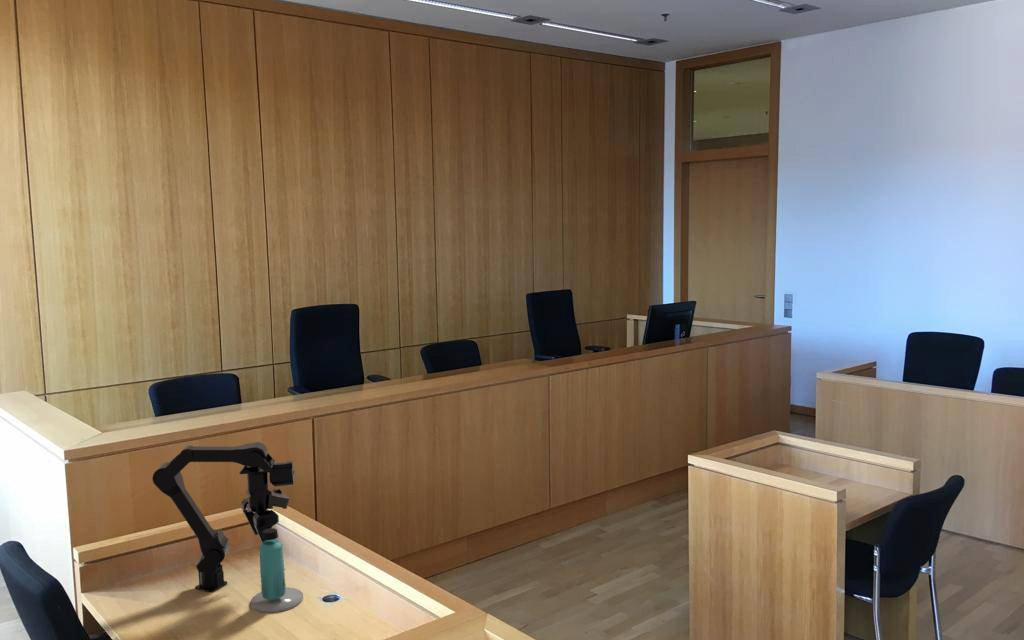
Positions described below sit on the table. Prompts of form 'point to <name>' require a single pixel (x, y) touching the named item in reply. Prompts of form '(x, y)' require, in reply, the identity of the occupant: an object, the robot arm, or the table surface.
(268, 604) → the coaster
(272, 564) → the beverage bottle
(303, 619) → the table surface
